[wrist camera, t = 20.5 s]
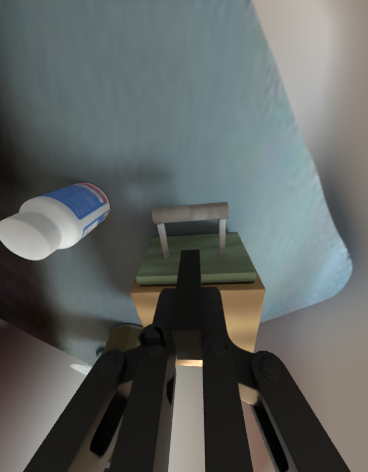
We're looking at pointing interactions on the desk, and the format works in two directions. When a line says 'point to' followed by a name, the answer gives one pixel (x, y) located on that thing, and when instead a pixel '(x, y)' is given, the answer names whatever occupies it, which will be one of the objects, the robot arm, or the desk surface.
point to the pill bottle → (54, 220)
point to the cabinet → (234, 304)
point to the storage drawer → (211, 249)
